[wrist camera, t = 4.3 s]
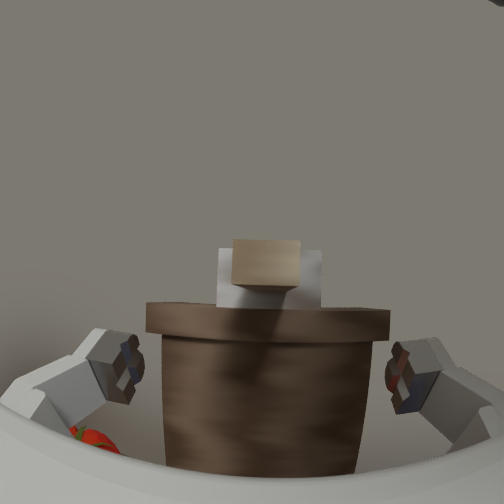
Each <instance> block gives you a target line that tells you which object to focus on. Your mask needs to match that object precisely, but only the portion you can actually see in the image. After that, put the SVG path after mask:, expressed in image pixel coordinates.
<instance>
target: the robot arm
mask: <svg viewBox="0 0 504 504" xmlns="http://www.w3.org/2000/svg"><path fill="white" fill-rule="evenodd" d="M489 1H491V2H493V3H494V4H496V5H498V6H502V7H504V0H489ZM139 345H140V344H139V341H138V338H137V336H136V335H134V334H130V333H124V332H118V331H112V330H106V329H100V328H96V329H93V330H92V332H91V333H90V334H89V335H88V337H87V338H86V339H85V340H84V341H83V343H82V344H81V345H80V346H79V348H78V349H77V350H76V351H75V353H74V354H73V355H72V356H70V355H67V356H65V357H63V358H61V359H59V360H57V361H54V362H52V363H50V364H48V365H46V366H43V367H41V368H39V369H37V370H35V371H32V372H30V373H28V374H26V375H24V376H21V377H19V378H17V379H16V380H15V381H14V382H13V383H12V384H11V386H10V387H9V388H8V389H7V391H6V392H5V393H4V394H3V396H2V397H1V398H0V504H504V392H503V391H501V390H499V389H498V388H496V387H494V386H493V385H491V384H489V383H487V382H486V381H484V380H482V379H480V378H479V377H477V376H475V375H473V374H472V373H470V372H468V371H467V370H465V369H463V368H461V367H459V368H457V367H456V365H455V363H454V362H453V360H452V359H451V357H450V355H449V354H448V352H447V351H446V349H445V348H444V346H443V344H442V343H441V341H440V340H439V339H438V338H436V337H432V338H425V339H419V340H409V341H398V342H395V344H394V345H393V348H392V351H391V352H392V354H393V358H392V359H390V360H389V361H388V363H387V366H386V369H385V383H386V386H387V389H388V390H389V391H390V392H392V393H393V396H392V398H391V401H392V404H393V407H394V409H395V413H396V415H397V414H405V413H412V412H418V411H420V412H419V413H420V414H421V415H423V416H424V418H426V419H427V420H428V421H429V422H430V423H431V424H432V425H433V426H434V427H435V428H436V429H438V430H439V431H440V432H441V433H442V434H443V435H444V436H445V437H446V438H447V439H448V440H450V441H451V442H452V443H453V445H452V446H451V448H450V449H449V450H448V451H447V453H446V454H445V455H442V456H438V457H435V458H431V459H428V460H424V461H420V462H416V463H412V464H407V465H403V466H398V467H393V468H388V469H382V470H376V471H370V472H363V473H356V474H347V475H337V476H325V477H307V478H261V477H242V476H230V475H220V474H211V473H204V472H197V471H190V470H184V469H179V468H173V467H168V466H163V465H159V464H154V463H150V462H145V461H142V460H138V459H134V458H130V457H127V456H123V455H120V454H116V453H113V452H110V451H107V450H104V449H101V448H98V447H95V446H92V445H89V444H86V443H84V442H81V441H78V440H76V439H75V437H74V436H73V435H72V433H71V432H70V430H69V428H71V427H72V426H74V425H75V424H76V423H78V422H79V421H81V420H82V419H83V418H85V417H86V416H87V415H89V414H90V413H92V412H93V411H94V410H96V409H97V408H98V407H100V406H101V405H103V404H104V403H105V402H106V400H108V401H113V402H117V403H122V404H127V405H129V404H130V401H131V399H132V397H133V395H134V393H135V391H136V390H135V387H134V385H135V384H137V383H139V382H140V381H141V379H142V377H143V374H144V369H145V365H144V358H143V355H142V354H141V353H140V352H139V351H138V350H137V348H138V346H139Z"/></svg>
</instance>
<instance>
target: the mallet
mask: <svg viewBox="0 0 504 504" xmlns="http://www.w3.org/2000/svg"><path fill="white" fill-rule="evenodd" d="M321 255H322V252H321V251H308V250H300V241H283V240H242V239H233V249H229V248H228V249H226V248H219V259H218V279H217V303H216V307H229V308H252V309H284V310H321V267H322V266H321V265H322V264H321V263H322V262H321V261H322V260H321V259H322V256H321Z"/></svg>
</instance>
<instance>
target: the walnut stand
mask: <svg viewBox="0 0 504 504" xmlns="http://www.w3.org/2000/svg"><path fill="white" fill-rule="evenodd" d="M146 332H148V333H156V334H162V403H163V423H164V424H163V425H164V441H165V454H166V466H168V467H173V468H179V469H184V470H190V471H197V472H204V473H211V474H220V475H230V476H242V477H261V478H307V477H325V476H337V475H347V474H354V472H355V467H356V463H357V458H358V453H359V447H360V442H361V437H362V431H363V424H364V418H365V410H366V404H367V396H368V387H369V379H370V368H371V357H372V343H373V341H388V340H389V332H390V310H383V309H371V308H321V310H284V309H252V308H229V307H216V304H201V303H185V302H161V303H160V302H154V303H146Z"/></svg>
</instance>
